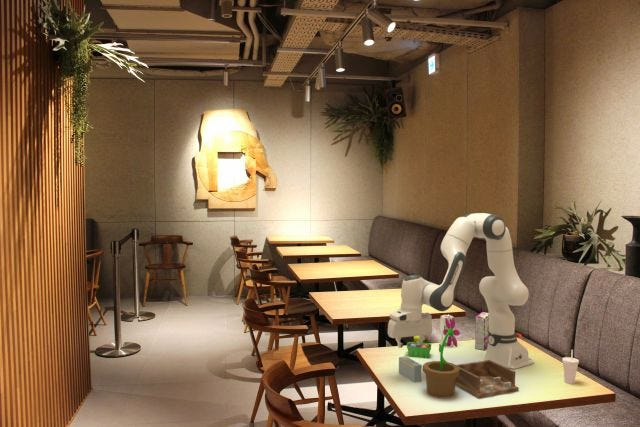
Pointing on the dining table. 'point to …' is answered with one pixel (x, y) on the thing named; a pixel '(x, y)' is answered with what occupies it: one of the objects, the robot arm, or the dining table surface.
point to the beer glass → (443, 326)
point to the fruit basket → (418, 348)
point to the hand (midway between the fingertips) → (409, 346)
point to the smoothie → (570, 368)
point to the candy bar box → (481, 331)
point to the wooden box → (486, 379)
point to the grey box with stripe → (410, 369)
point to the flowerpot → (443, 368)
